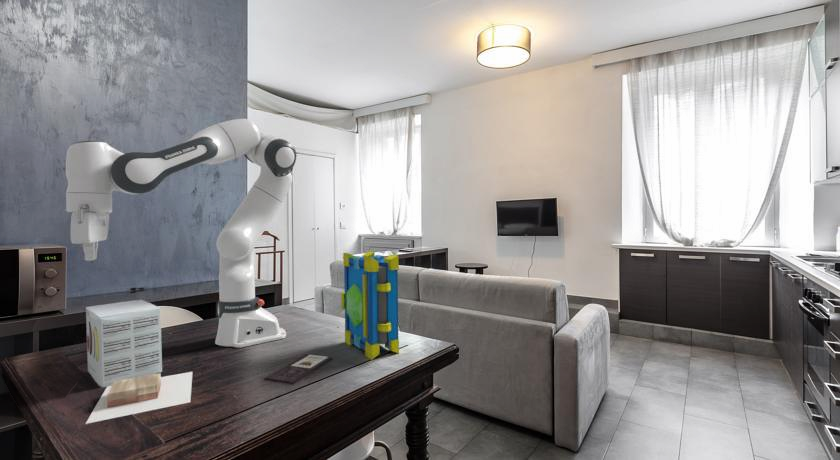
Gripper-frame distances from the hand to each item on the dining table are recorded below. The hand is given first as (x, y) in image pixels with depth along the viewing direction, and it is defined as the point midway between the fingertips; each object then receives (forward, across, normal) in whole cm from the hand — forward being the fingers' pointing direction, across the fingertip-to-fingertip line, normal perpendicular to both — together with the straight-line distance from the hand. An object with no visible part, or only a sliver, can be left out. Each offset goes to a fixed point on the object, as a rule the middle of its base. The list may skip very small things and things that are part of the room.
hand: (90, 260), depth 97 cm
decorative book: (+31, -13, -71) cm, 78 cm away
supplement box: (+31, +3, -6) cm, 32 cm away
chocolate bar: (+31, -18, -48) cm, 60 cm away
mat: (+31, -17, -13) cm, 38 cm away
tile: (+29, -17, -15) cm, 37 cm away
